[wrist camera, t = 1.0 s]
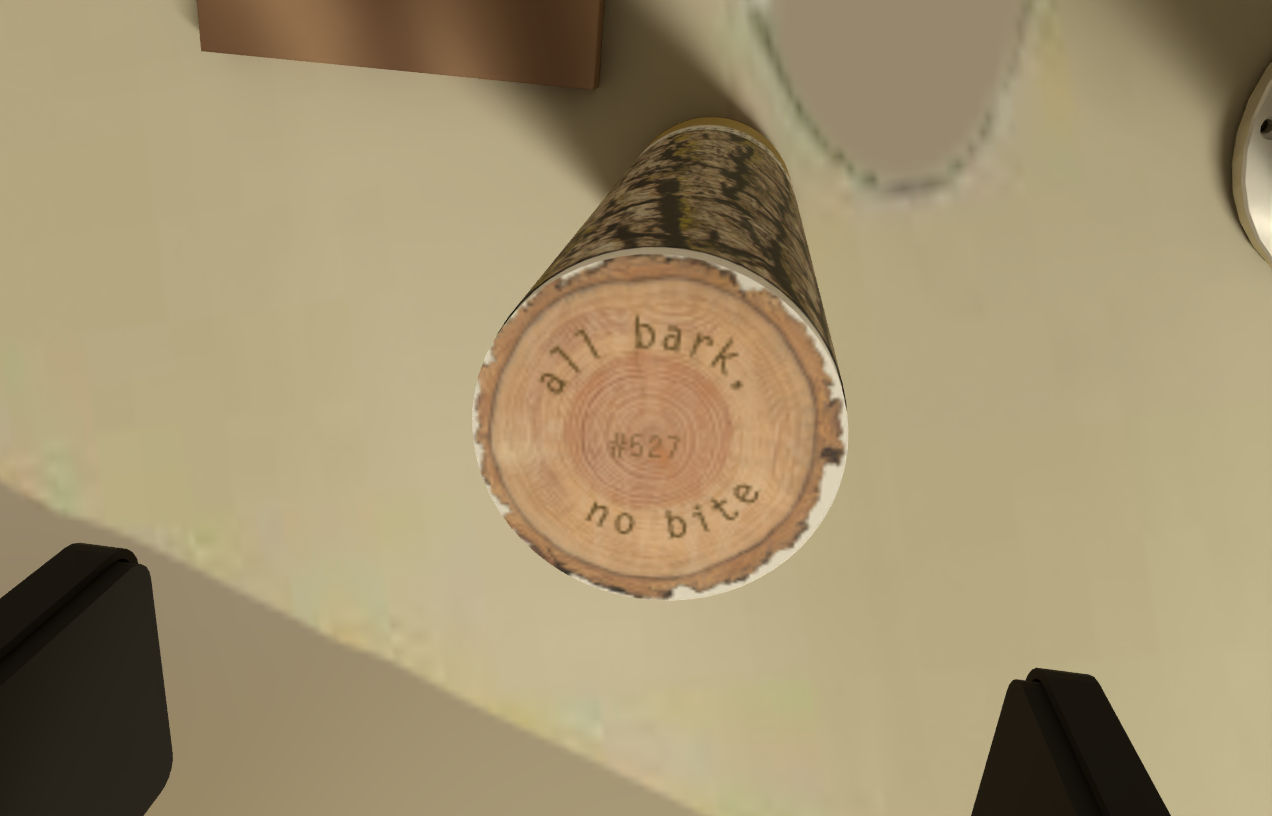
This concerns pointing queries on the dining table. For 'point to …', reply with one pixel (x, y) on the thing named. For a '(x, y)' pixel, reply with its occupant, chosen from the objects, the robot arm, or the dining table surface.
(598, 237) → the bark print can
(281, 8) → the board
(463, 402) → the dining table surface
